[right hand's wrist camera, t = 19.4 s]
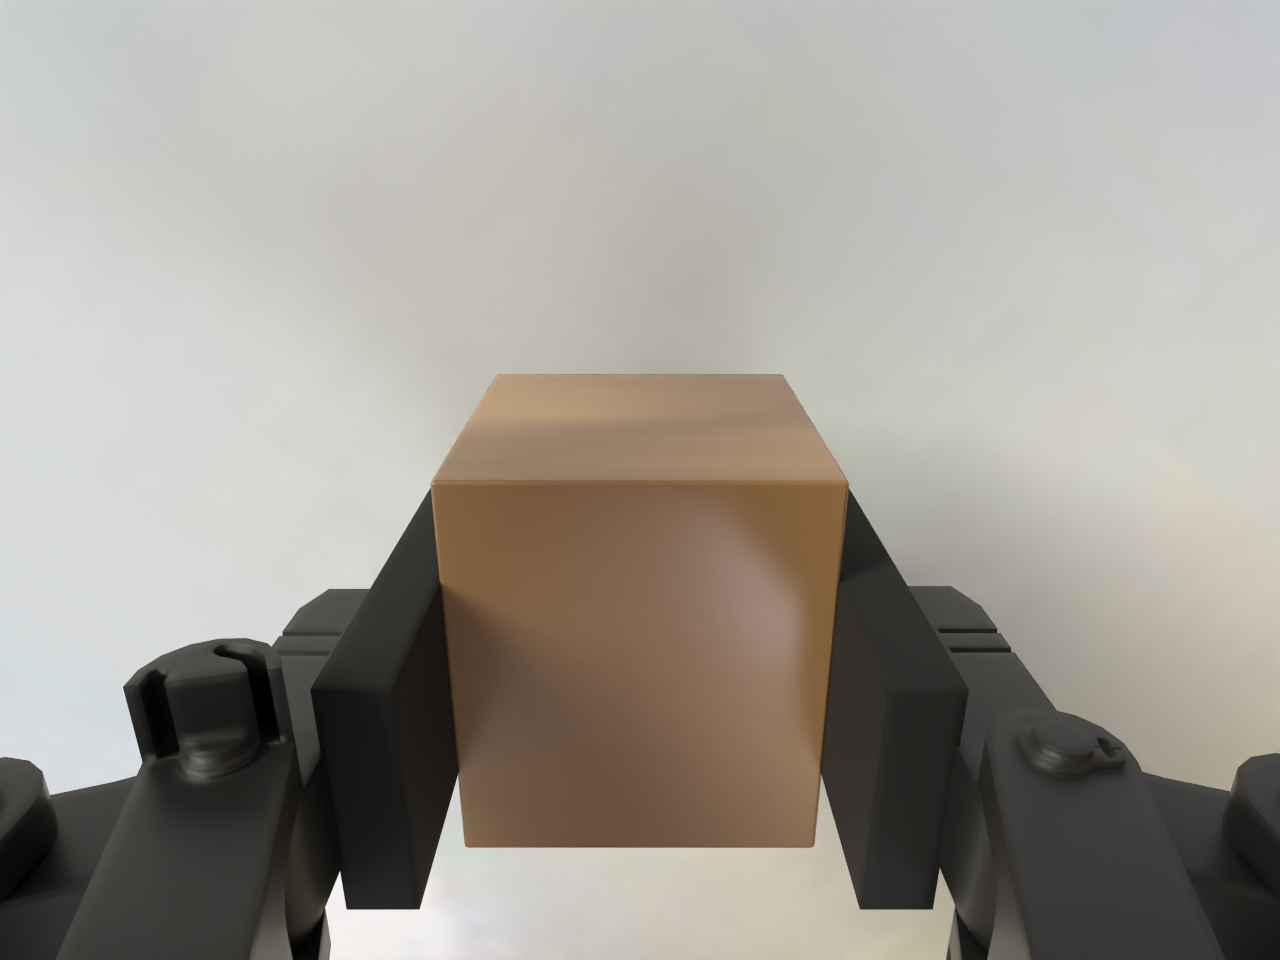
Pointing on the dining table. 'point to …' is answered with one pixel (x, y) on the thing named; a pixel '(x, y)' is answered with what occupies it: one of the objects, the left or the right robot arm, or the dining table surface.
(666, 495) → the cardboard box
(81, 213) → the dining table surface
